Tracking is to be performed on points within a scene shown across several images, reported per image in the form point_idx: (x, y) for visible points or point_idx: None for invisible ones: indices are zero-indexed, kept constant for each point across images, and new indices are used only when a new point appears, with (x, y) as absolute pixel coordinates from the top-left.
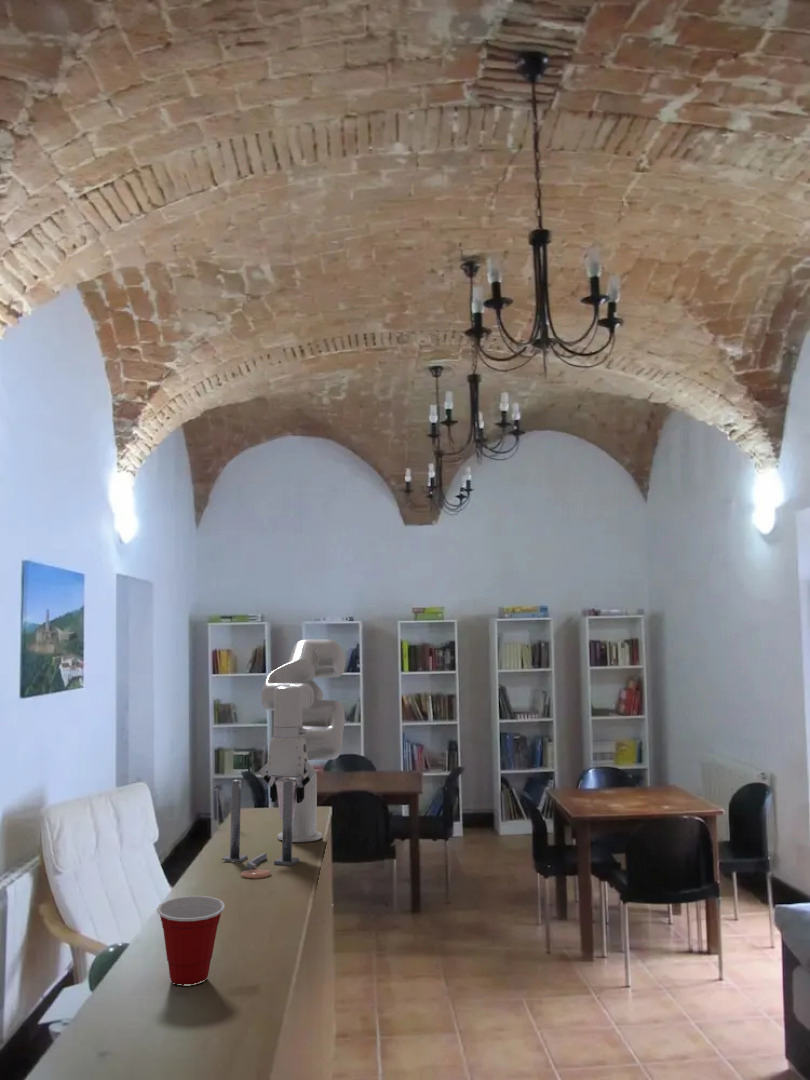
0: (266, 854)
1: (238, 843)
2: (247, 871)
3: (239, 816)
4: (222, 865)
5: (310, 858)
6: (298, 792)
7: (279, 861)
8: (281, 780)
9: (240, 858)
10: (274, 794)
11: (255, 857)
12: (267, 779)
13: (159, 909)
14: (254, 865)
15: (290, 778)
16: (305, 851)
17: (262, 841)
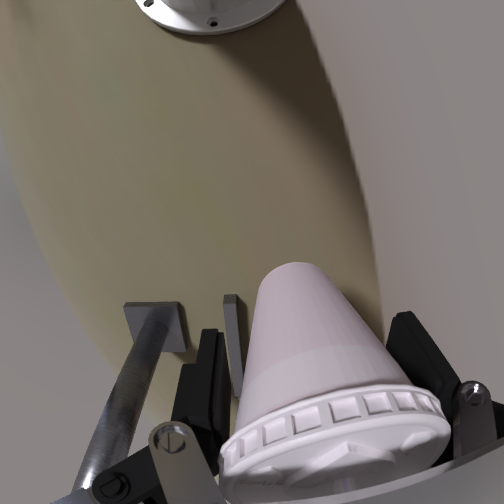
0: (235, 303)
1: (158, 359)
2: None
3: (137, 420)
4: (163, 373)
5: (364, 251)
6: None
7: None
8: (284, 495)
9: (180, 343)
10: (228, 415)
11: (230, 357)
12: (150, 499)
13: None
14: None
15: (369, 462)
16: (318, 155)
17: (103, 54)
